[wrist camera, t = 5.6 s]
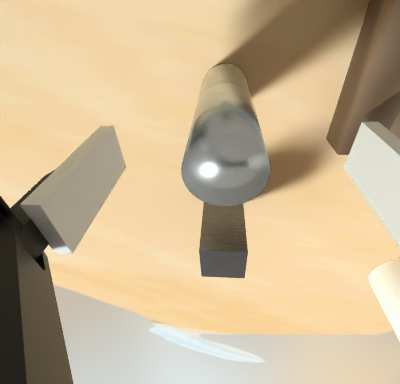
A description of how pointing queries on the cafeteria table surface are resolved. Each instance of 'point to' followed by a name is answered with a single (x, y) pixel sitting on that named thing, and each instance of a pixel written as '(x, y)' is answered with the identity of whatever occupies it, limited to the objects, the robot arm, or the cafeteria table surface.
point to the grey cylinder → (225, 142)
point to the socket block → (371, 78)
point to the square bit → (223, 241)
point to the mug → (388, 290)
